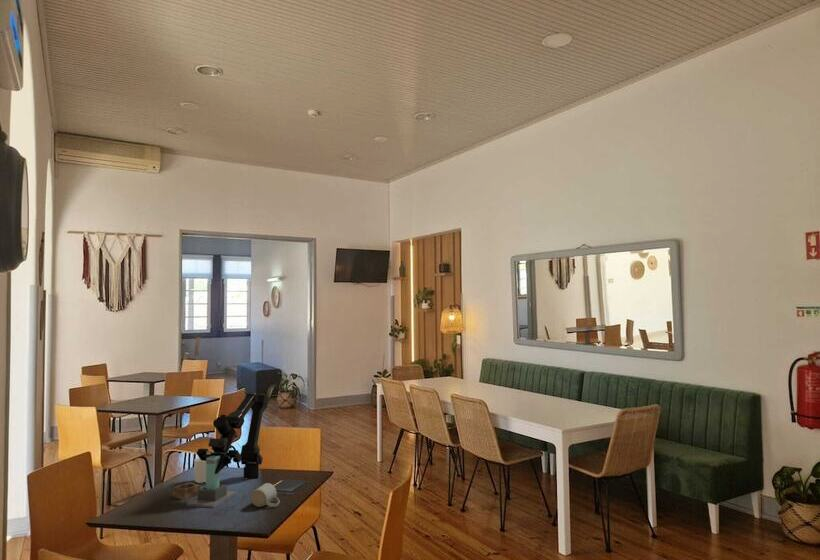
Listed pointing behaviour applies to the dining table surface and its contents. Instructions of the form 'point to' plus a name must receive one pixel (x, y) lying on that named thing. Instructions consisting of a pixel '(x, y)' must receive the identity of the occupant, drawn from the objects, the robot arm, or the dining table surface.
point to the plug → (212, 473)
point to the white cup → (200, 470)
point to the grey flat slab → (288, 486)
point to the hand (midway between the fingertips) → (211, 473)
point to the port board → (211, 497)
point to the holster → (186, 490)
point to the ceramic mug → (265, 496)
